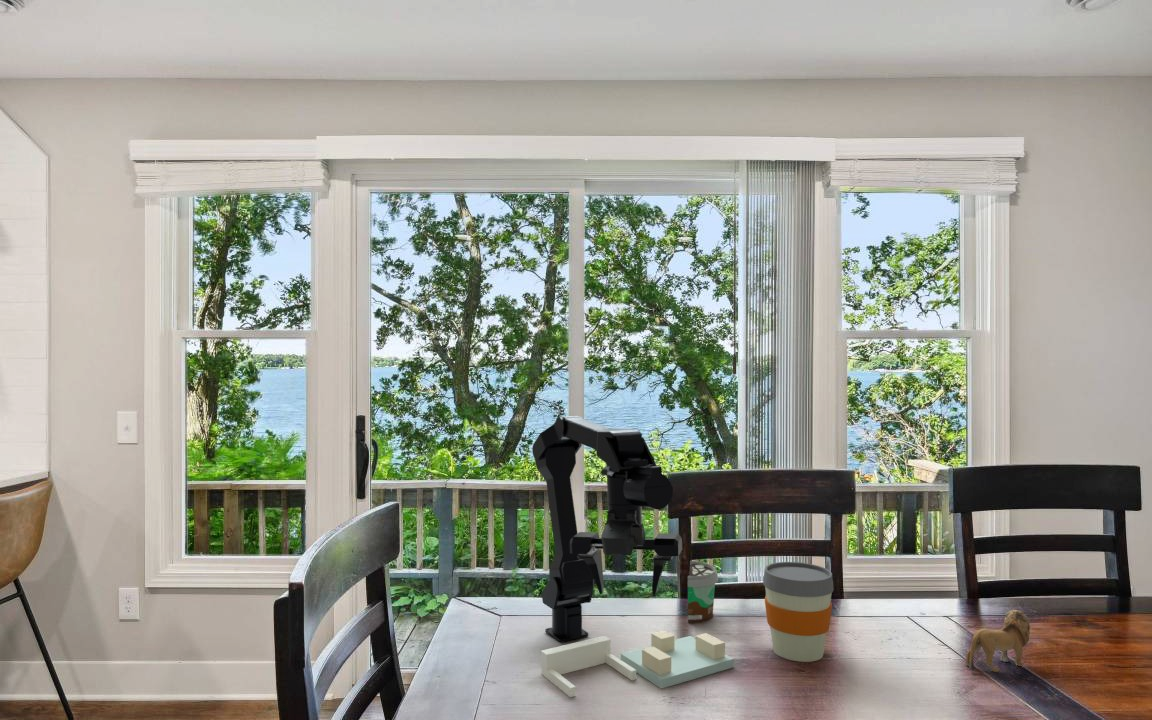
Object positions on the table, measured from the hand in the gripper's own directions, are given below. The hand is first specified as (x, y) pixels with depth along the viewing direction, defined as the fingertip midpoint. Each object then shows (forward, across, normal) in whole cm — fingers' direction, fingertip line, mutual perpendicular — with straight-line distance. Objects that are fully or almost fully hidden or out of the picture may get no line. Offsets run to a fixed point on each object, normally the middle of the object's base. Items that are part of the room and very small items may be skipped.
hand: (627, 594), depth 121 cm
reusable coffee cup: (+15, +28, +19) cm, 37 cm away
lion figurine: (+16, +62, +23) cm, 68 cm away
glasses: (+14, -7, -1) cm, 16 cm away
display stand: (+14, +7, +8) cm, 17 cm away
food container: (+13, +9, +33) cm, 37 cm away
